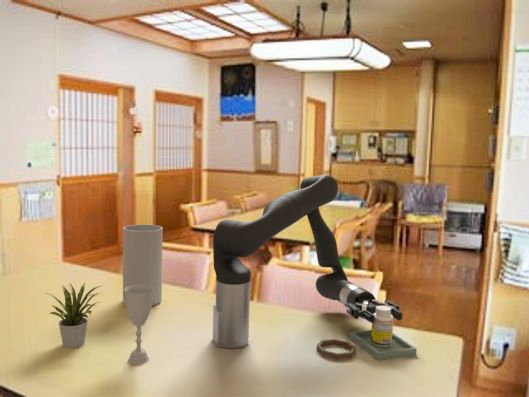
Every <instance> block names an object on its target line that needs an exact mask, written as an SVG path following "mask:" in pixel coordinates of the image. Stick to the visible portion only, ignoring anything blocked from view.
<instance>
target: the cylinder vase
mask: <svg viewBox="0 0 529 397" xmlns="http://www.w3.org/2000/svg"><path fill="white" fill-rule="evenodd" d="M122 228H123V229H122V302H123V304H125V306H127V294H126V292H125V290H124V289H125V288H126V287H128V286H131V285H136V284H146V285H151V286H153V287H154V289H153V291H152V295H151V307H153V306H156V305H158V304H160V303H161V302H162V297H163V296H162V295H163V292H162V291H163V285H162V284H163V229H164V228H163V227H162V226H161V225H156V224H131V225H130V224H129V225H126V226H123V227H122Z"/></svg>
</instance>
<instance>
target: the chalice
mask: <svg viewBox="0 0 529 397" xmlns="http://www.w3.org/2000/svg"><path fill="white" fill-rule="evenodd" d="M153 289H154V287H153V286H151V285H146V284H136V285H131V286H128V287H126V288H125V289H124V290H125V292H126V294H127V305H126V307H125V308H126V312H127V315H128V318H130V322H131V323H132V325H133V326H135V327H136V332H135V335H136V339H135V343H136V347H135V349H133V350H132V351H131V353H130V355H129V358H128V359H127V363H129V364H131V365H143V364H146V363H147V362H148V361H150V358H149V355H148V353H147V351H146V349H145V348H143V347H142V346H141V344H142V342H143V339H142V337H141V336H142V334H143V332H142V329H141V328H142V326H144V325H145V324H146V322H147V321H148V318H149V316H150V313H151V309H152V306H151V295H152V291H153Z"/></svg>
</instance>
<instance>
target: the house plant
mask: <svg viewBox="0 0 529 397" xmlns="http://www.w3.org/2000/svg"><path fill="white" fill-rule="evenodd" d="M67 286H68V287H69V288H70V291H69V290H68V289H67V287H66V286H64V285H62V290H63V295H64V300H65V302H64V303H63V302H62V301H61V300H60V299H58V298H57V297H56V296H55V295H52V294H50V293H48V292H45V294H46V295H49V296H51V297H53V298H54V299H55V300H56V302H57V303H59V304H60V306H61V307H62V308H63V310H62V309H61V308H59V307H58V306H56V305H53V304H52V305H51V307H52V308H54V309H55V310H56V311H57V312H56V311H51V312H49V314H50V315H55V316H57V317H59V318H61V320H60V321H58V327H59V331H60V333H59V334H60V337H61V343H62V347H64V348H65V349H77V348H81V347H83V346H84V345H85V340H86V336H87V335H86V334H87V328H88V322H89V318H88V315H87V314H89V315H90V316H91V315H92V312H93V311H92V310H90V309H91V308H93V306H94V307H96V304H98V303H100V301H97V302H94V303H93V304H91V303H89V302H90V301H91V300H92V298H93V297H96V296H98V295H99V294H101V293H100V292H99V293H98V292H96V293H93V294H91V293H92V292H93V291H95V290H96V289H99V288H101V287H102V285H100V286H99V285H98V286H95V287H93V288H92V289H90V290H89V291H88V292H87V293H86V294H85V295H84V292H85V286H86V283H85V282H84V283H83V284H82V285H81V286H80V289H79V292H78V293H76V289H75V287H74V286H73V285H72V284H71V283H69V284H67ZM83 295H84V297H83ZM82 298H83V299H82ZM86 300H87V301H86ZM84 303H85V304H84ZM86 308H87V309H86ZM85 309H86V311H84V310H85ZM64 311H65V312H64ZM83 311H84V312H83ZM82 345H83V346H82Z"/></svg>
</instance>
